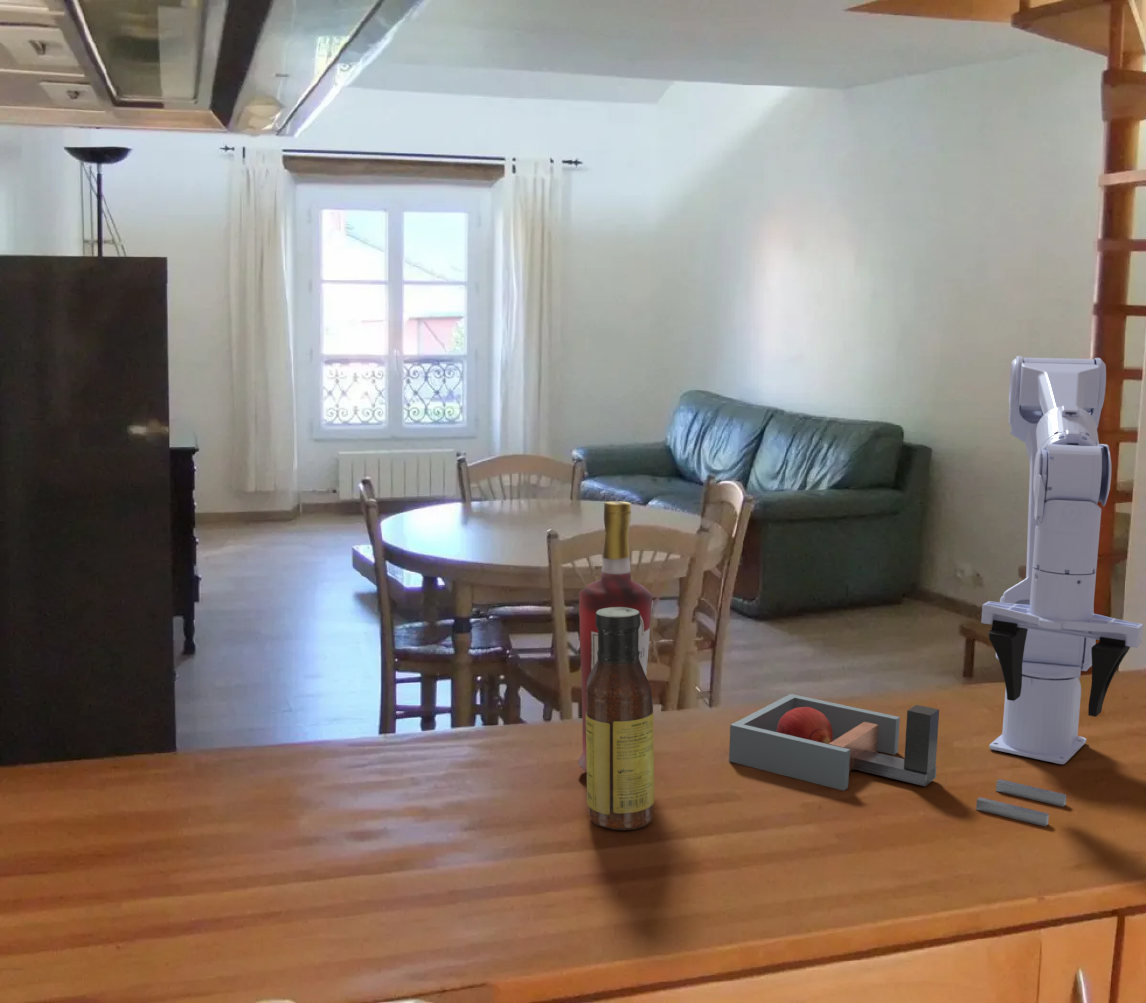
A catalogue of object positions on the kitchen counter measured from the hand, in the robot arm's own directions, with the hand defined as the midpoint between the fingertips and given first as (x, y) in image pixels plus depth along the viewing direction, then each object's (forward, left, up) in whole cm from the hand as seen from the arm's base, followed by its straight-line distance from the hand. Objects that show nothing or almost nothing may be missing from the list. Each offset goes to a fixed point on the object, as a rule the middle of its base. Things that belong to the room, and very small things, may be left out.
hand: (1053, 705), depth 121 cm
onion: (+8, -20, -6) cm, 22 cm away
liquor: (+22, -37, -10) cm, 44 cm away
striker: (+4, -15, -9) cm, 18 cm away
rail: (+4, -1, -9) cm, 10 cm away
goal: (+4, -23, -9) cm, 25 cm away
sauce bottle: (+31, -30, -10) cm, 44 cm away
